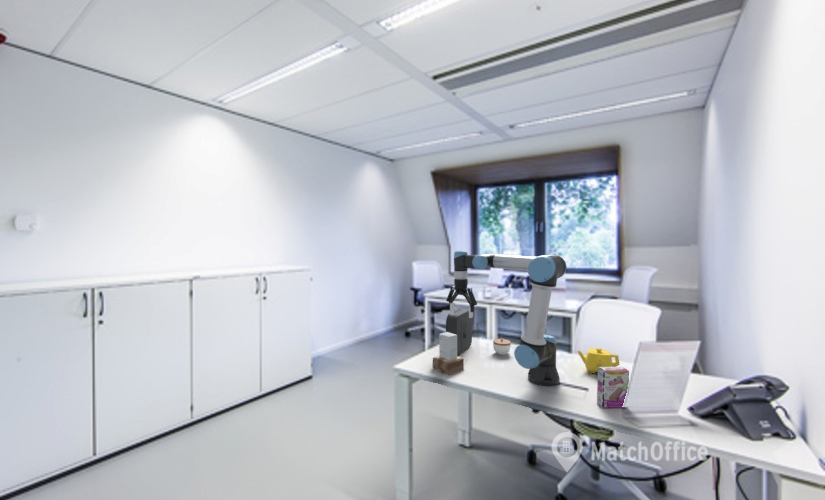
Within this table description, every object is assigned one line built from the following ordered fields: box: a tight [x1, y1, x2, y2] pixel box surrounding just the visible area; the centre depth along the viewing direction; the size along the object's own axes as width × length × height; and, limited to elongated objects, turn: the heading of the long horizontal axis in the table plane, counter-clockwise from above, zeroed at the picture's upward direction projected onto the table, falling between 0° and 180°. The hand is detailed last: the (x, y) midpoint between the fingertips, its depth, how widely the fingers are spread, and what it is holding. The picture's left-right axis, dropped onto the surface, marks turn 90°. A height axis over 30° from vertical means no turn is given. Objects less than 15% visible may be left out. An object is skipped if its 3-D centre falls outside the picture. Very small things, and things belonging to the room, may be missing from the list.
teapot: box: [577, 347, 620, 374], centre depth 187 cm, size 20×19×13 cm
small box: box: [438, 331, 458, 360], centre depth 193 cm, size 8×6×13 cm
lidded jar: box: [492, 338, 512, 356], centre depth 218 cm, size 11×11×9 cm
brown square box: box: [432, 355, 465, 376], centre depth 193 cm, size 12×12×6 cm
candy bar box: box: [596, 366, 630, 409], centre depth 150 cm, size 11×5×16 cm, turn 92°
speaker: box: [445, 309, 473, 356], centre depth 224 cm, size 25×9×25 cm, turn 149°
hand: (461, 316), depth 197 cm, fingers open, 13 cm apart
